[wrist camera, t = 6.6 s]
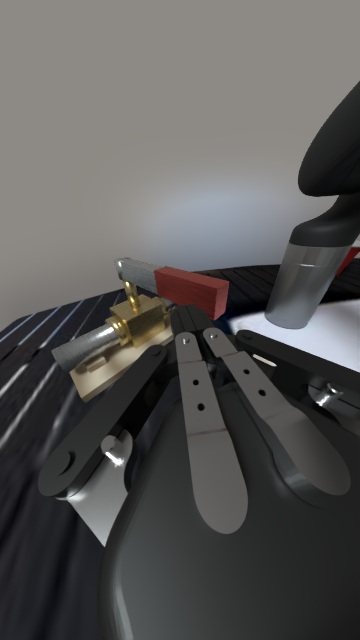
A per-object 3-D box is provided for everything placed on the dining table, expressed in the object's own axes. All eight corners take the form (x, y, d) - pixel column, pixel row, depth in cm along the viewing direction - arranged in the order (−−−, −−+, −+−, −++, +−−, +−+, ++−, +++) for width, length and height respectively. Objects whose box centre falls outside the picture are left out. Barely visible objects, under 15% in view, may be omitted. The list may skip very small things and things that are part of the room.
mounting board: (172, 304, 46) (171, 296, 45) (202, 318, 39) (202, 309, 38) (66, 361, 30) (59, 352, 28) (85, 402, 23) (77, 393, 21)
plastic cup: (336, 280, 53) (357, 244, 46) (306, 272, 62) (320, 240, 55) (354, 275, 56) (377, 240, 49) (323, 268, 65) (339, 237, 57)
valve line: (177, 302, 44) (174, 258, 37) (195, 310, 40) (195, 262, 32) (65, 363, 27) (17, 305, 20) (76, 387, 23) (21, 325, 16)
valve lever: (117, 278, 26) (110, 259, 24) (130, 274, 28) (125, 255, 26) (211, 322, 14) (214, 290, 12) (226, 310, 16) (231, 280, 14)
